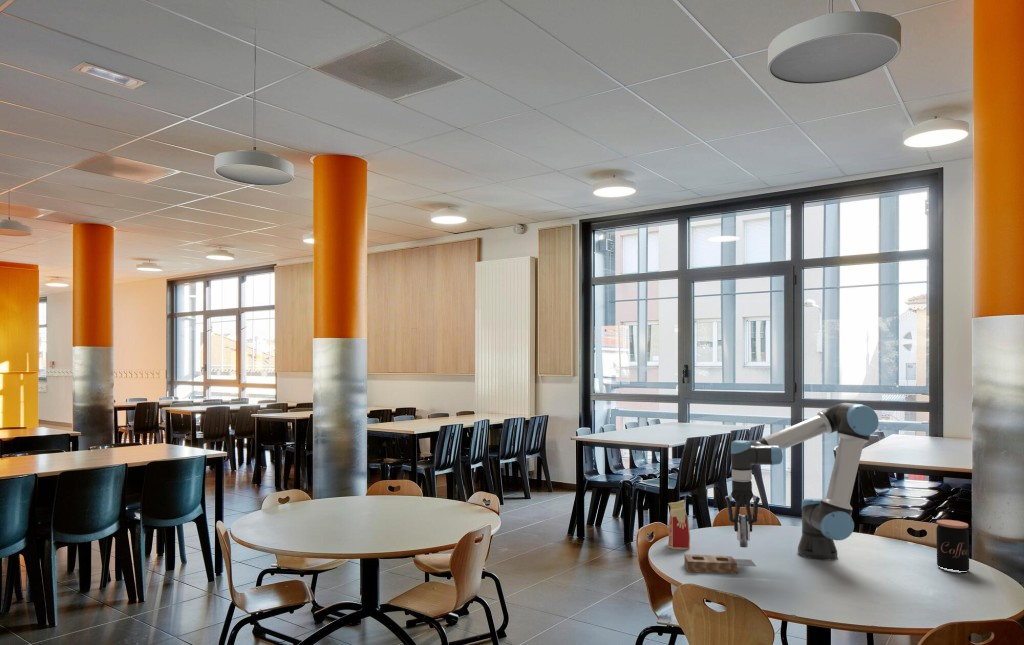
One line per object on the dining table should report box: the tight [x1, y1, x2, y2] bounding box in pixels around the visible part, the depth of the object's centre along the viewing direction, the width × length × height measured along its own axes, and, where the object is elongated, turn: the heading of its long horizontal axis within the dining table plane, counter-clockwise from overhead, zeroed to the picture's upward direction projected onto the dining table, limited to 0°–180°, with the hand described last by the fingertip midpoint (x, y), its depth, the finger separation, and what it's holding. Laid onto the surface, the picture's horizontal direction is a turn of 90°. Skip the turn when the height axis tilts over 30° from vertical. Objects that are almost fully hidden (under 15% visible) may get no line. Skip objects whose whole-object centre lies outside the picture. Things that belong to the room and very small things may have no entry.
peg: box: [738, 514, 749, 549], centre depth 275 cm, size 3×3×12 cm
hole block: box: [683, 553, 738, 574], centre depth 266 cm, size 18×10×4 cm, turn 84°
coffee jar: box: [935, 519, 970, 572], centre depth 271 cm, size 11×11×18 cm
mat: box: [733, 558, 757, 567], centre depth 274 cm, size 9×9×1 cm
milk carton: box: [667, 499, 691, 551], centre depth 298 cm, size 9×9×20 cm
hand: (743, 539), depth 274 cm, fingers closed on peg, 3 cm apart
